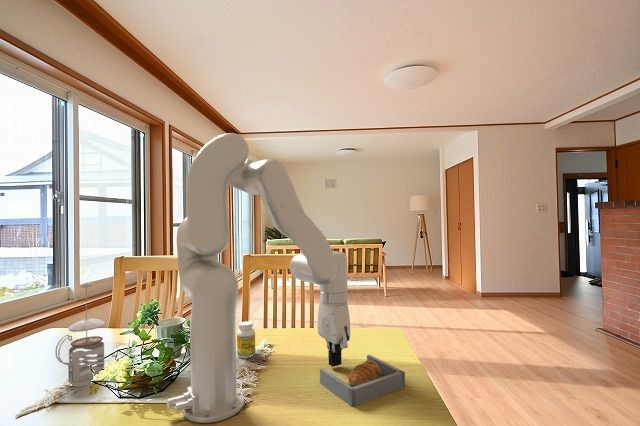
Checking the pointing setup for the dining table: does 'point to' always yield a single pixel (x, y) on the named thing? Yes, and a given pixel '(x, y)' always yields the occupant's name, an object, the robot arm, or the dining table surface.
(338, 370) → the dining table surface
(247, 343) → the supplement bottle
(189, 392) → the robot arm
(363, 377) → the pastry
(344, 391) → the gray u-shaped fence
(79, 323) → the french press
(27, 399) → the dining table surface
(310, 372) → the dining table surface
